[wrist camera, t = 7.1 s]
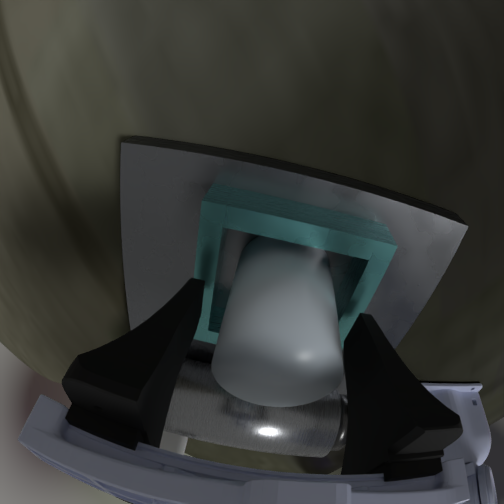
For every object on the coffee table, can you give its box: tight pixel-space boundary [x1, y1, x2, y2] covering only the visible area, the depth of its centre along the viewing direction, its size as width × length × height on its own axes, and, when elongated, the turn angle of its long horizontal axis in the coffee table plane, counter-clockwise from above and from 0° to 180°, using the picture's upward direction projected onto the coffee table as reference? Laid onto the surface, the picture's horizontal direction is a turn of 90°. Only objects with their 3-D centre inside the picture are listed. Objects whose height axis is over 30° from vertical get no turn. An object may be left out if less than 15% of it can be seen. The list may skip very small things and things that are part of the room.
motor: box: [120, 136, 468, 457], centre depth 17 cm, size 18×20×7 cm
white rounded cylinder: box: [211, 235, 344, 407], centre depth 13 cm, size 5×5×6 cm
